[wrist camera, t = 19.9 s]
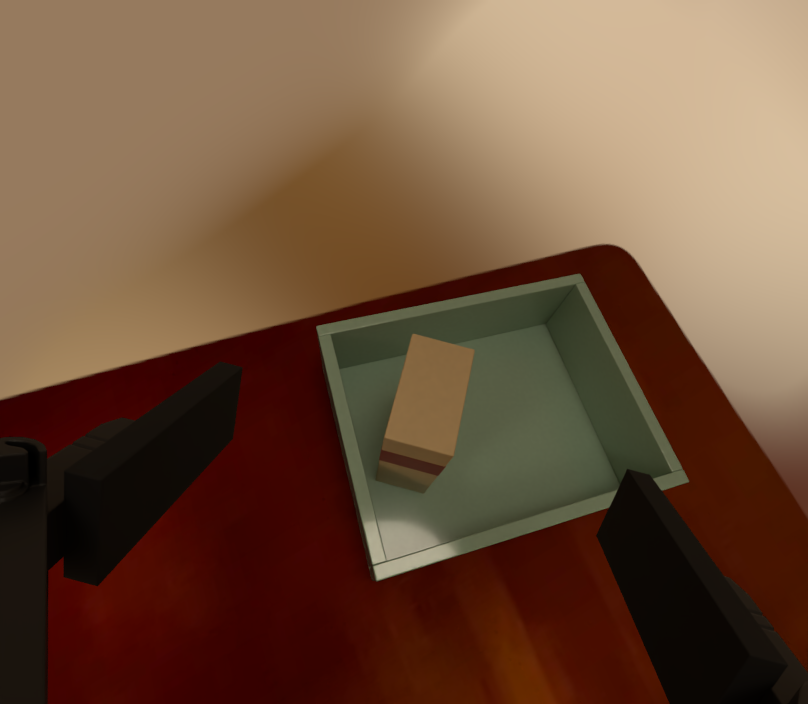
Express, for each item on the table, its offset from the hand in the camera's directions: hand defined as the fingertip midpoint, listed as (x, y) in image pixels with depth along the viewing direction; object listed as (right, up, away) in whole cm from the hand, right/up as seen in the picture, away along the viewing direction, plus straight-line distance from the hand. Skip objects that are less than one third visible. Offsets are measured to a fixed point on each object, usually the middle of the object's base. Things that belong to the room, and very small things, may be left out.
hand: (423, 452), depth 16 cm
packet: (0, -3, +18) cm, 18 cm away
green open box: (+4, -3, +20) cm, 21 cm away
